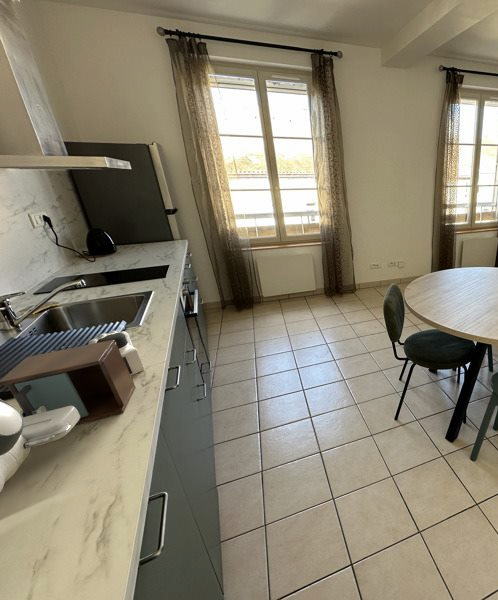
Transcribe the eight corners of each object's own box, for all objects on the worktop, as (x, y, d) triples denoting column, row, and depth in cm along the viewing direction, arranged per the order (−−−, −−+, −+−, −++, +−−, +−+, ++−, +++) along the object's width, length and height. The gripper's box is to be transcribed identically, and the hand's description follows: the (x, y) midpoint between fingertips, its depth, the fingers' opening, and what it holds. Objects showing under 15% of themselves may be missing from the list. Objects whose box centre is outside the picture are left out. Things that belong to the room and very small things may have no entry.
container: (145, 369, 104) (130, 333, 98) (116, 382, 98) (98, 345, 93) (135, 363, 107) (120, 327, 102) (106, 375, 102) (88, 338, 96)
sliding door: (31, 440, 75) (1, 395, 70) (42, 426, 80) (15, 382, 75) (80, 427, 79) (55, 382, 74) (88, 413, 83) (66, 371, 78)
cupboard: (32, 437, 78) (-3, 382, 72) (55, 407, 88) (26, 357, 82) (123, 412, 85) (98, 360, 79) (135, 387, 95) (114, 339, 89)
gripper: (56, 424, 66) (83, 386, 78) (-92, 463, 58) (-37, 414, 70) (69, 448, 68) (94, 407, 80) (-71, 488, 61) (-20, 436, 73)
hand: (32, 411), depth 75 cm, fingers closed on sliding door, 2 cm apart
